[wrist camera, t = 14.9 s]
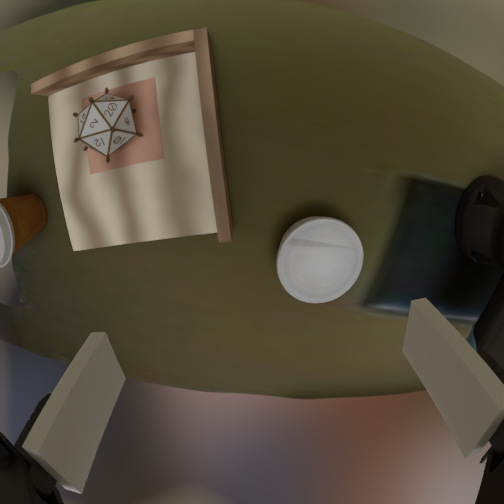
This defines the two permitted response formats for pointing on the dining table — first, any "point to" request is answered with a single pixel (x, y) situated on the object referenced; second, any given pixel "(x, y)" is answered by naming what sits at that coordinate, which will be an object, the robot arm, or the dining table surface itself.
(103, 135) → the game die
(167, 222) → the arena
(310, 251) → the ramekin
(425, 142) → the dining table surface
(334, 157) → the dining table surface
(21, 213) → the disposable coffee cup
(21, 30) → the dining table surface
